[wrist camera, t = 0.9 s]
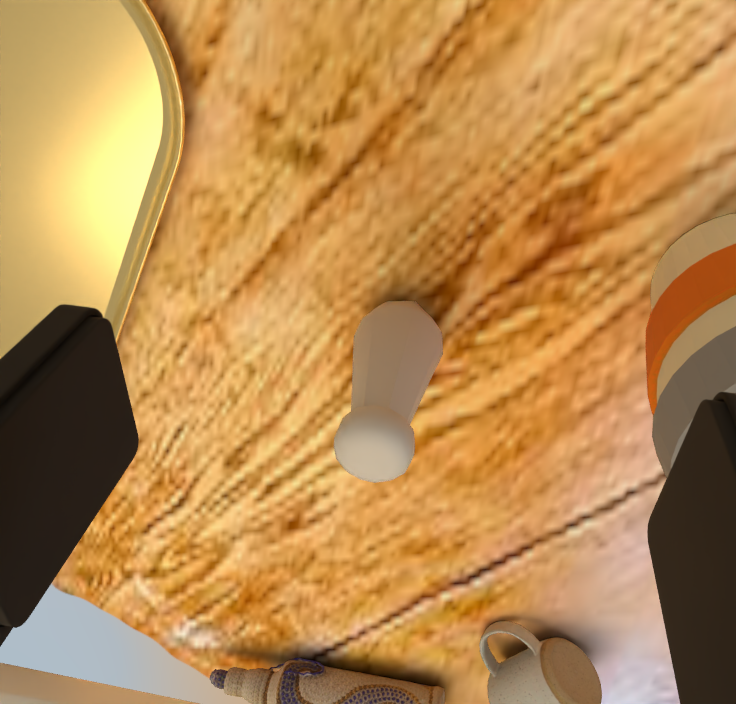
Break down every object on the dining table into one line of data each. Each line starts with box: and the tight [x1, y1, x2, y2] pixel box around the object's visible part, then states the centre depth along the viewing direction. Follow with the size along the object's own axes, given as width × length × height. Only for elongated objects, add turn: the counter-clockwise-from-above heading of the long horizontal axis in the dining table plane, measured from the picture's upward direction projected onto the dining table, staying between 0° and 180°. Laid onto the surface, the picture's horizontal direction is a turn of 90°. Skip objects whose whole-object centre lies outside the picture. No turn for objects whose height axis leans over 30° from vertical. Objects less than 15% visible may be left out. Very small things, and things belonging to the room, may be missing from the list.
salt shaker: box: [334, 301, 443, 483], centre depth 39 cm, size 6×6×13 cm
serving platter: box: [0, 0, 185, 359], centre depth 43 cm, size 19×35×2 cm, turn 152°
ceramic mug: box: [480, 621, 602, 704], centre depth 60 cm, size 11×8×8 cm
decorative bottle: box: [210, 658, 445, 704], centre depth 70 cm, size 26×8×7 cm, turn 89°
